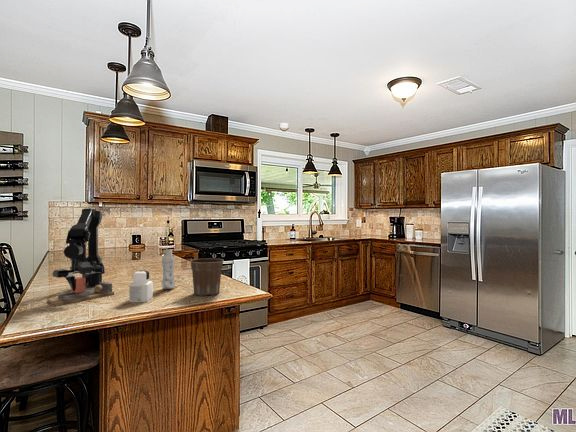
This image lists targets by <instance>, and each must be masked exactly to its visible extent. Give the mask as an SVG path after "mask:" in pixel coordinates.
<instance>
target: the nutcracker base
mask: <svg viewBox="0 0 576 432" xmlns="http://www.w3.org/2000/svg"><path fill="white" fill-rule="evenodd" d="M93 289H94V294H89V292H84V293H79V294H74V295H72V291H69V292H65V293H64V292H63V293H58V294H57V297H53V298H47V300H46V301H47V302H46V303H49V304H51V305H54V306H57V307H60V306H64V305H69V304H74V303H75V304H76V303H79V302H83V301H84V302H85V301H89V300H93V299H94V300H95V299H100V298H104V297H109V296H113V295H115V291H113V282H112V283H111V282H106V281H103V280H102V282H99V285H96V286H95V287H93Z"/></svg>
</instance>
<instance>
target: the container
mask: <svg viewBox="0 0 576 432" xmlns="http://www.w3.org/2000/svg"><path fill="white" fill-rule="evenodd" d="M132 274H133V275H132V277H133V279H132V280H133V283H130V284H129V285H128V286H129V293H128V294H129V298H128V299H129V303H147V302H149V301H150V300H152V299H153V297H154V294H153V293H154V292H153V288H154V287H153V285H154V283H153V281H152V280H150V272H149V271H148V270H142V269H141V270H136V271H133V273H132Z"/></svg>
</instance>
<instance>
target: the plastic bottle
mask: <svg viewBox="0 0 576 432" xmlns="http://www.w3.org/2000/svg"><path fill="white" fill-rule="evenodd" d="M175 262H176V259H175V257H174V256H173V249H164V255H163V257H162V258H161V267H162V280H161V288H162V289H163V290H172V289H174V288H175V286H176V283H175V282H176V281H175V274H174V273H175V271H174V270H175Z"/></svg>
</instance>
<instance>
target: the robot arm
mask: <svg viewBox="0 0 576 432" xmlns="http://www.w3.org/2000/svg"><path fill="white" fill-rule="evenodd" d="M102 220H103V213H102V212H101V211H100V210H97V209H94V208H82V209H81V213H80V216H79V218H78V221H77V222H76V224H73V225H71V227H70V228H69V230H68V232H67V236H66V240H65V244H66V245H67V244H68V245H67V246H66V247H65V248H64V249H63V254H64V256H65V257H66V258H68V259H69V260H70V262H71V263H70V264H71V265H70V266H69V269H65V268H61V269H60V268H58V269H54V270H53V272H52V277H54V278H59V279H60V278H65V280H66V281H67V283H68V285H69V287H70V288H71V289H70V290H71V292H72V291H74V290H75V284H74V279H75V278H76V276H75V275H74V274H81V277H85V278H86V287H88V288H94V287H95V286H96V285H99V282H103V275H105V274H106V272H105V271H106V270H105V265H104V263H103V260H102V258H101V256H100V255H99V226H100V225H101V223H102ZM87 250H88V251H87ZM87 254H88V255H87Z"/></svg>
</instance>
